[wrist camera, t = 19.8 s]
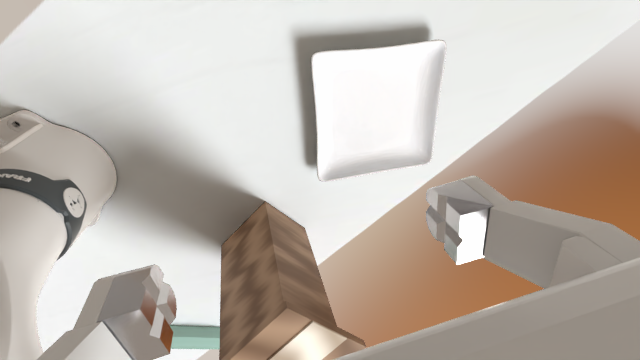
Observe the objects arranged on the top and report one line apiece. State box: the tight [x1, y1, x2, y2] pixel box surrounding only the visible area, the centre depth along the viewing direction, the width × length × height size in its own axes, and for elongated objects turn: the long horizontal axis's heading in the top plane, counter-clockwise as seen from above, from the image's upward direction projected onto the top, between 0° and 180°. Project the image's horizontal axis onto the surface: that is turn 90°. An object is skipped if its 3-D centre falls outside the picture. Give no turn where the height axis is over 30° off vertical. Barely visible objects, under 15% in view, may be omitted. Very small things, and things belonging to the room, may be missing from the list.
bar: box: [170, 325, 220, 349], centre depth 69 cm, size 19×4×3 cm, turn 70°
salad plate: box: [311, 40, 446, 182], centre depth 55 cm, size 21×21×3 cm
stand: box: [219, 201, 366, 360], centre depth 52 cm, size 15×14×26 cm
